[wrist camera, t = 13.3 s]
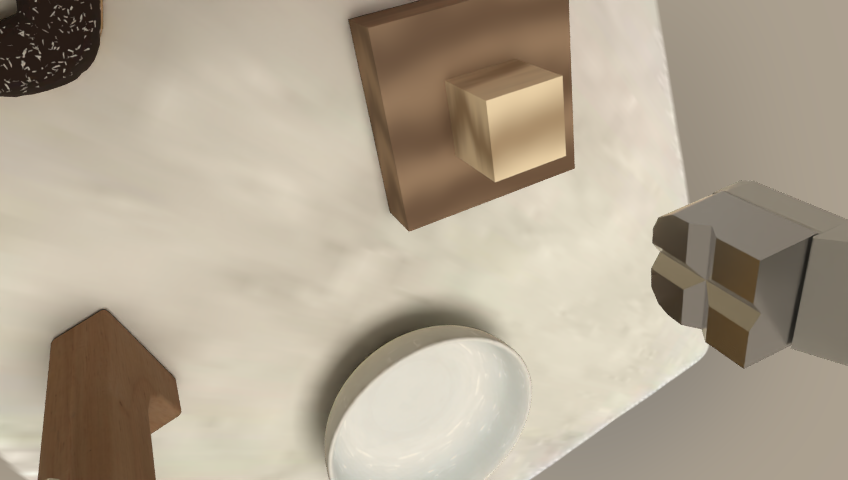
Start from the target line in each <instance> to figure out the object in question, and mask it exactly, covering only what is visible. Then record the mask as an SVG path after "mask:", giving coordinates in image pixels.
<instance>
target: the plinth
mask: <svg viewBox="0 0 848 480" xmlns="http://www.w3.org/2000/svg"><path fill="white" fill-rule="evenodd" d="M348 20H349V25H350V29H351V34H352V38H353V43H354V48H355V52H356V57H357V62H358V66H359V71H360V75H361V80H362V85H363V89H364V94H365V99H366V103H367V108H368V112H369V117H370V122H371V126H372V131H373V136H374V140H375V145H376V149H377V154H378V159H379V163H380V168H381V173H382V177H383V182H384V186H385V191H386V196H387V200H388V205H389V210H390V213H391V214H392V215H393V216H394V217H395V218H396V219H397V220H398V221H399V222H400V223H401V224H402V225H403V226H404V227H405V228H406V229H407V230H408V231H412V230H415V229H417V228H420V227H422V226H425V225H428V224H430V223H433V222H436V221H438V220H441V219H443V218H446V217H449V216H451V215H454V214H457V213H459V212H462V211H464V210H467V209H470V208H472V207H475V206H477V205H480V204H483V203H485V202H488V201H491V200H493V199H496V198H498V197H501V196H504V195H506V194H509V193H511V192H514V191H517V190H519V189H522V188H525V187H527V186H530V185H532V184H535V183H538V182H540V181H543V180H545V179H548V178H551V177H553V176H556V175H559V174H561V173H564V172H566V171H569V170H572V169H574V168H575V164H574V136H573V108H572V80H571V52H570V24H569V0H420V1H416V2H412V3H408V4H405V5H401V6H397V7H393V8H390V9H386V10H382V11H378V12H375V13H371V14H367V15H363V16H360V17H356V18H352V19H348ZM512 59H517V60H520V61H523V62H526V63H528V64H531V65H534V66H537V67H540V68H542V69H545V70H548V71H551V72H554V73H556V74H559V75H562V76H563V98H564V121H565V144H566V156H564V157H562V158H559V159H556V160H554V161H551V162H548V163H546V164H543V165H540V166H538V167H535V168H532V169H530V170H527V171H524V172H522V173H519V174H516V175H514V176H511V177H508V178H506V179H503V180H500V181H498V182H494V181H492V180H491V179H489V178H488V177H486V176H485V175H484V174H482V173H481V172H479V171H478V170H476V169H475V168H473V167H472V166H470V165H469V164H467V163H466V162H464V161H463V160H462V159H460V158H459V157H457V156H456V155H455V148H454V141H453V134H452V127H451V120H450V113H449V106H448V100H447V93H446V86H445V80H448V79H452V78H455V77H458V76H461V75H464V74H468V73H471V72H474V71H477V70H480V69H484V68H487V67H490V66H493V65H496V64H500V63H503V62H506V61H509V60H512Z"/></svg>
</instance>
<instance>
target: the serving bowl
mask: <svg viewBox="0 0 848 480" xmlns="http://www.w3.org/2000/svg"><path fill="white" fill-rule="evenodd" d="M531 397H532V386H531V378H530V375H529V372H528V369H527V366H526V364H525V363H524V361H523V359H522V358H521V357H520V356H519V354H518V353H517V352H516V351H515V350H514V349H512V348H511V347H510V346H508V345H507V344H505V343H504V342H503V341H501V340H500V339H498V338H496V337H494V336H493V335H491V334H489V333H486V332H484V331H481V330H478V329H475V328H471V327H466V326H458V325H439V326H432V327H426V328H422V329H418V330H415V331H412V332H409V333H406V334H404V335H402V336H399V337H397V338H395V339H393V340H391V341H390V342H388V343H386V344H385V345H383V346H382V347H380V348H379V349H377V350H376V351H375V352H373V353H372V354H371V355H370V356H369V357H367V358H366V359H365V360H364V361H363V362H362V363H361V364H360V365H359V366H358V367H357V368H356V369H355V370H354V372H353V373H352V374H351V375H350V377H349V378H348V379H347V381H346V382H345V383H344V385H343V386H342V388H341V390H340V392H339V393H338V395H337V397H336V399H335V401H334V403H333V406H332V408H331V411H330V414H329V417H328V421H327V426H326V432H325V442H324V448H325V461H326V467H327V472H328V477H329V480H486V479H487V478H488V477H489V476H490V475H491V474H492V473H493V472H494V471H495V470H496V469H497V468H498V467H499V465H500V464H501V463H502V462H503V461H504V460H505V458H506V457H507V456H508V454H509V453H510V452H511V450H512V449H513V447H514V445H515V444H516V442H517V440H518V439H519V437H520V435H521V433H522V431H523V428H524V426H525V424H526V421H527V418H528V415H529V410H530V406H531Z"/></svg>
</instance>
